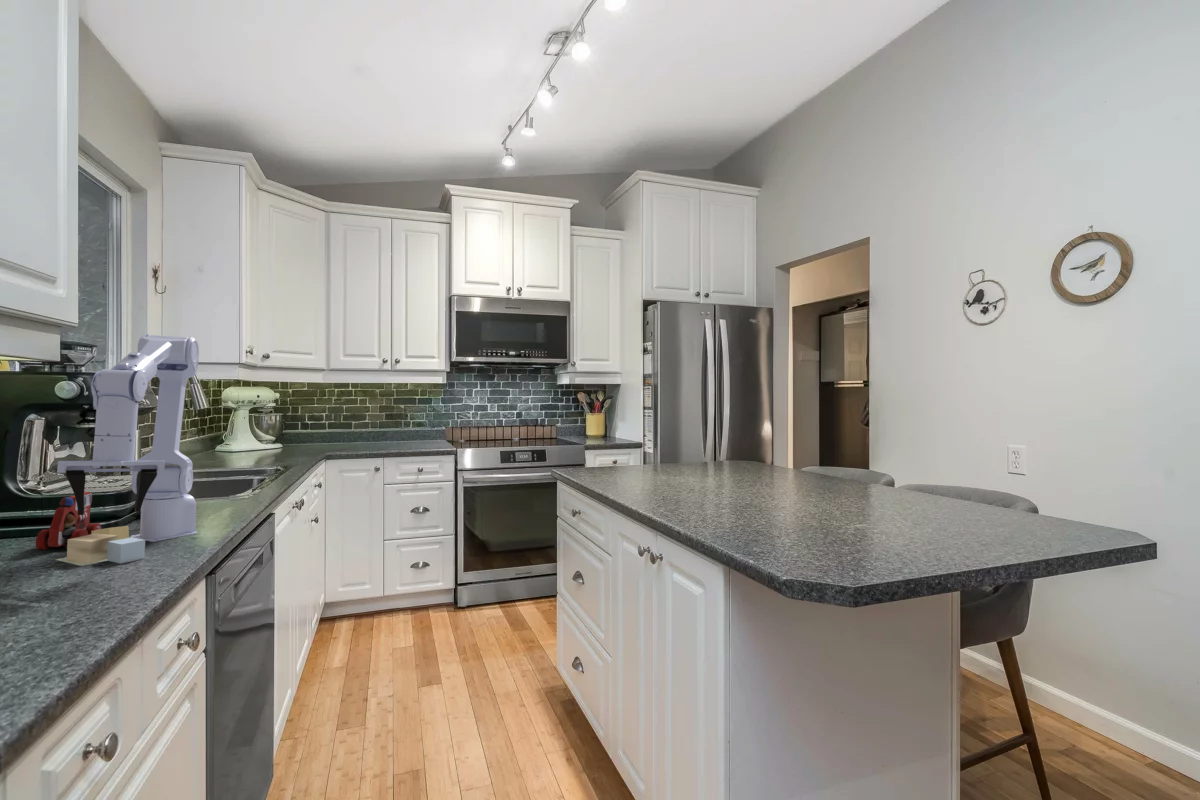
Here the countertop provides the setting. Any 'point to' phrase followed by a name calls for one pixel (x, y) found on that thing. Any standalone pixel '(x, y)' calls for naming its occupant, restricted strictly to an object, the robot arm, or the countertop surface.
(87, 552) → the maple block
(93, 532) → the ochre block
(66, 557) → the plate
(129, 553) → the blue block
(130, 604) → the countertop surface
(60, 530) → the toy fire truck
